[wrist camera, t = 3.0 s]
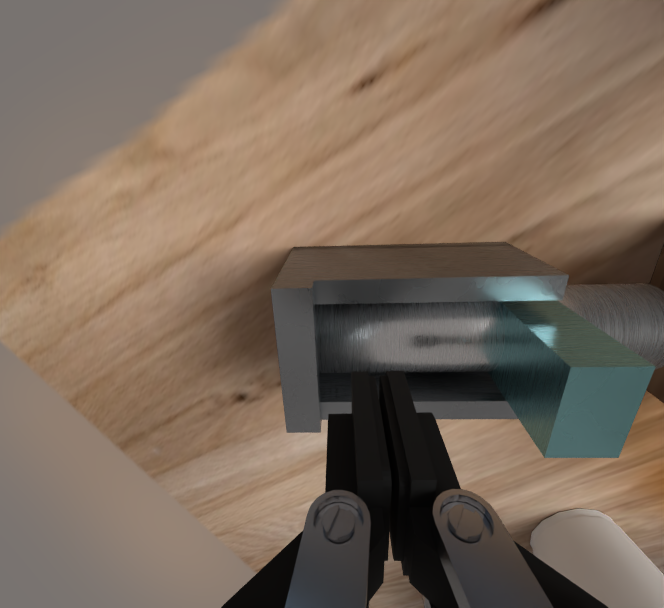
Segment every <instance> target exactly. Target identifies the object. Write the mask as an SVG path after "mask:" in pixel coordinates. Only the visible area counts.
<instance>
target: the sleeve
mask: <svg viewBox="0 0 664 608" xmlns="http://www.w3.org/2000/svg"><path fill="white" fill-rule="evenodd" d="M568 277H569V275H568V274H566V273H564V272H562V271H560V270H558V269H556V268H554V267H552V266H550V265H549V264H547V263H545V262H543V261H541V260H539V259H537V258H535V257H533V256H531V255H529V254H528V253H526V252H524V251H522V250H520V249H518V248H516V247H514V246H512V245H510V244H508V243H507V242H480V243H439V244H399V245H359V246H319V247H294V248H293V249H292V251H291V253H290V255H289V257H288V258H287V260H286V262H285V264H284V266H283V267H282V269H281V271H280V273H279V275H278V276H277V278H276V280H275V282H274V284H273V285H272V287H271V296H272V305H273V314H274V323H275V332H276V341H277V350H278V359H279V367H280V376H281V385H282V394H283V403H284V412H285V421H286V430H287V433H295V432H321V422H322V420H328V415H329V414H350V413H352V400H351V373H319V364H318V347H317V329H316V304H371V303H428V302H484V301H541V300H563V297H564V293H565V289H566V285H567V281H568ZM404 373H405V376H406V380H407V383H408V386H409V390H410V393H411V396H412V399H413V403H414V406H415V409H416V413H418V412H431V413H432V414H433V415H434V417H435V419H518V417H517V416H516V414H515V413H514V411H513V410H512V408H511V407H510V405H509V404H508V402H507V401H506V399H505V398H504V396H503V395H502V393H501V392H500V390H499V389H498V387H497V386H496V384H495V383H494V381H493V380H492V378H491V377H490V375H489V374H488V372H404ZM368 374H369V376H375V379H376V385H377V391H378V397H379V378H380V376H385V375H386V372H381V373H368Z"/></svg>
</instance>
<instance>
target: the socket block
mask: <svg viewBox="0 0 664 608" xmlns="http://www.w3.org/2000/svg"><path fill="white" fill-rule="evenodd" d="M650 285H653V286H656V287H658V288H660V289H661V290H663V291H664V246H663V249H662V251H661V254H660V257H659V260H658V262H657V265H656V268H655V271H654V274H653V276H652V279H651V282H650ZM646 390H647V391H648V392H650V393H651V394H652V395H654V396H655V397H656V398H658V399H659V400H660V401H661V402H663V403H664V366H663V367H661V368H658V369H655V370H654V372H653V374H652V377H651V379H650V382H649V384H648V387H647V389H646Z"/></svg>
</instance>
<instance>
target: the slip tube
mask: <svg viewBox="0 0 664 608" xmlns="http://www.w3.org/2000/svg"><path fill="white" fill-rule="evenodd" d="M316 329H317V347H318V364H319V373H351V372H356V371H368V373H381V372H386V371H404V372H488V374H489V375H490V377H491V378H492V380H493V381H494V383H495V384H496V386H497V387H498V389H499V390H500V392H501V393H502V395H503V396H504V398H505V399H506V401H507V402H508V404H509V405H510V407H511V408H512V410H513V411H514V413H515V414H516V416H517V417H518V419H519V420H520V422H521V423H522V425H523V426H524V428H525V429H526V431H527V432H528V434H529V435H530V437H531V438H532V440H533V441H534V443H535V444H536V446H537V447H538V449H539V450H540V452H541V453H542V455H543V456H544V458H618V457H619V455H620V453H621V450H622V448H623V445H624V443H625V440H626V438H627V435H628V433H629V431H630V428H631V426H632V423H633V421H634V418H635V416H636V413H637V411H638V409H639V406H640V404H641V401H642V399H643V396H644V394H645V392H646V389H647V387H648V384H649V382H650V379H651V377H652V374H653V372H654V370H655V369H658V368H661V367H663V366H664V291H663V290H661V289H660V288H658V287H656V286H653V285H650V284H642V283H638V284H587V285H566V289H565V293H564V297H563V300H541V301H484V302H428V303H371V304H316Z"/></svg>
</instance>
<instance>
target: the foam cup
mask: <svg viewBox="0 0 664 608" xmlns="http://www.w3.org/2000/svg"><path fill="white" fill-rule="evenodd" d="M530 545H531V547H532V549H533V554H534V556H536V557H537V558H539V559H540V560H542V561H543V562H544V563H546V564H547V565H549V566H550V567H552V568H553V569H554V570H556V571H557V572H559V573H560V574H562V575H563V576H565V577H566V578H567V579H569V580H570V581H572V582H573V583H575V584H576V585H577V586H579V587H580V588H582V589H583V590H585V591H586V592H587V593H589V594H590V595H592V596H593V597H595V598H596V599H597V600H599V601H600V602H602V603H603V604H605V605H606V606H607V607H608V608H664V574H663V573H662V572H661V571H660V570H659V569H658V568H657V567H656V566H655V565H654V564H653V562H652V561H651V560H650V559H649V558H648V557H647V556H646V555H645V554H644V553H643V552H642V551H641V549H640V548H639V547H638V546H637V545H636V544H635V543H634V542H633V541H632V540H631V539H630V538H629V536H628V535H627V534H626V533H625V532H624V531H623V530H622V529H621V528H620V527H619V526H618V525H617V524H615V523H614V521H613V520H612V519H611V517H609V516H607V515H605V514H603V513H601V512H600V511H598V510H589V509H579V508H578V509H573V510H568V511H563V512H558V513H556V514H554V515H552V516H551V517H549V518H547V519H545V520H543V521H541V523H540V524H539V525H538V526H537V527H536V528H535V529H534V530H533V531H532V534H531V540H530Z"/></svg>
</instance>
